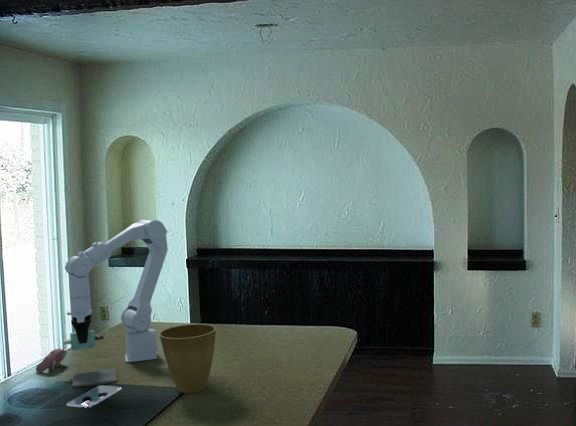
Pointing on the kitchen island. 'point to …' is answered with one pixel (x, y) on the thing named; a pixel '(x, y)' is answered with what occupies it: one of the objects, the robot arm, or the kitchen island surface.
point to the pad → (94, 377)
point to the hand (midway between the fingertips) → (83, 341)
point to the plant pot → (189, 355)
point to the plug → (77, 346)
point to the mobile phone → (94, 396)
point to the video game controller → (51, 360)
